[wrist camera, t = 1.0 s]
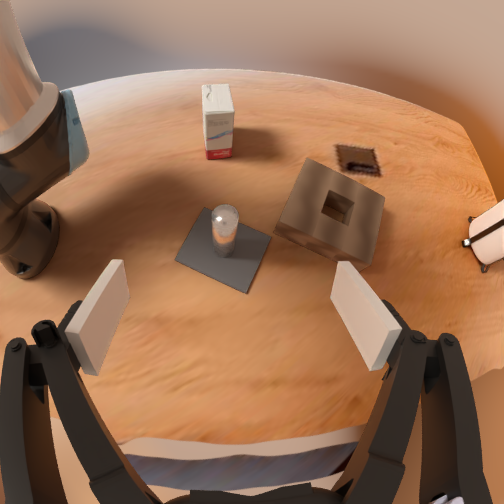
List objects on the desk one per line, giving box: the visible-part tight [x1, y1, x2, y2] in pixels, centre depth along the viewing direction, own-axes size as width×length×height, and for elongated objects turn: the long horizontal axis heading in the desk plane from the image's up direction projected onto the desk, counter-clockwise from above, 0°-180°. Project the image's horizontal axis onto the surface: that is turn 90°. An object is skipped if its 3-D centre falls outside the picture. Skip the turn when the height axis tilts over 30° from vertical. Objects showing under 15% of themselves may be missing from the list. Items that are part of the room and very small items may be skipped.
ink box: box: [202, 84, 235, 159], centre depth 44 cm, size 9×5×12 cm, turn 10°
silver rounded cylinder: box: [212, 204, 239, 258], centre depth 37 cm, size 3×3×11 cm
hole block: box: [273, 158, 385, 272], centre depth 44 cm, size 16×14×4 cm
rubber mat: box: [175, 207, 271, 294], centre depth 42 cm, size 12×10×1 cm
